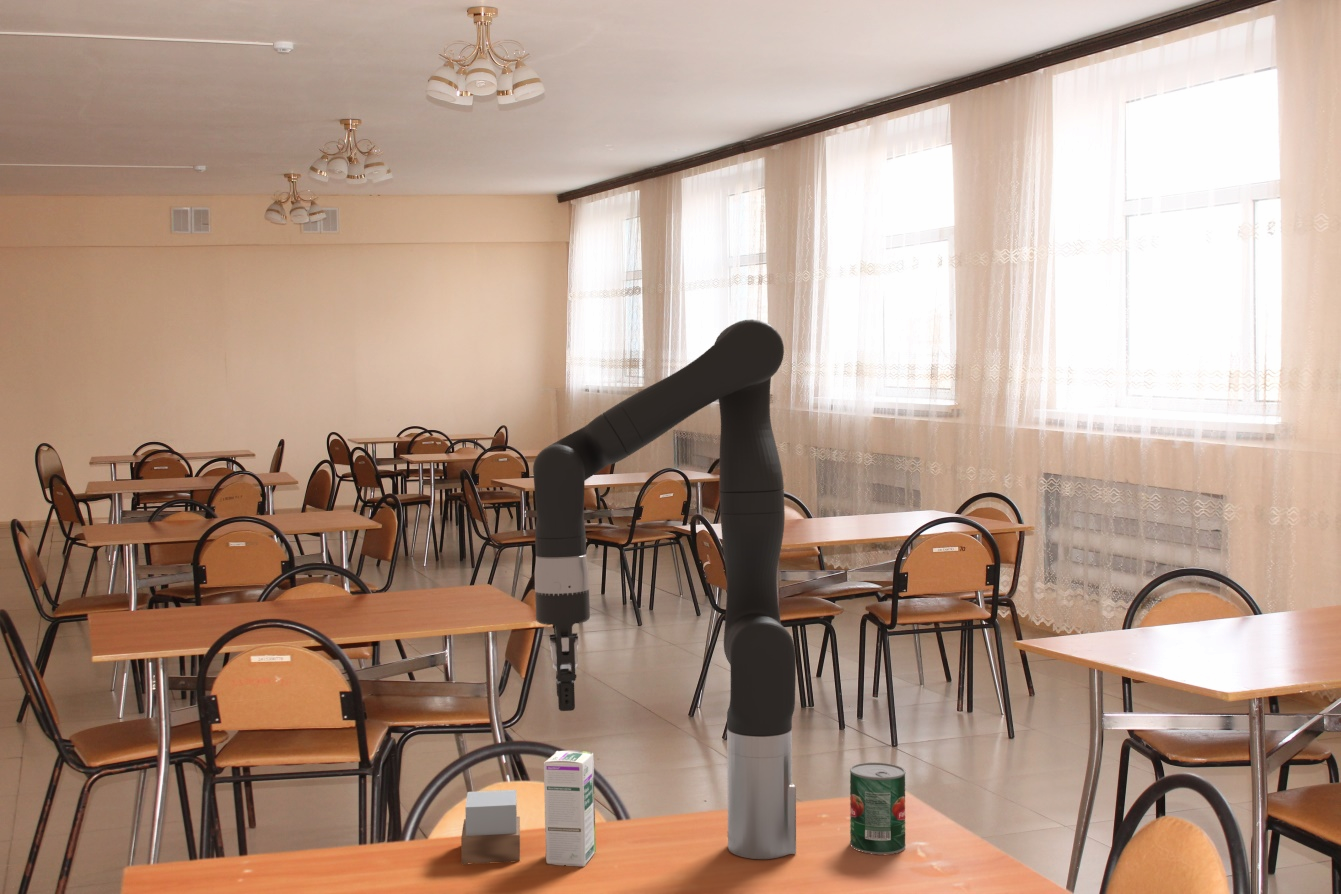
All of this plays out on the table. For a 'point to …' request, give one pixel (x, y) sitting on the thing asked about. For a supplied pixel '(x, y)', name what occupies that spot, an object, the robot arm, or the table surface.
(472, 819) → the tower top
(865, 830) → the canned tomato
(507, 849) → the tower base
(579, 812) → the syrup box
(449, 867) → the table surface
